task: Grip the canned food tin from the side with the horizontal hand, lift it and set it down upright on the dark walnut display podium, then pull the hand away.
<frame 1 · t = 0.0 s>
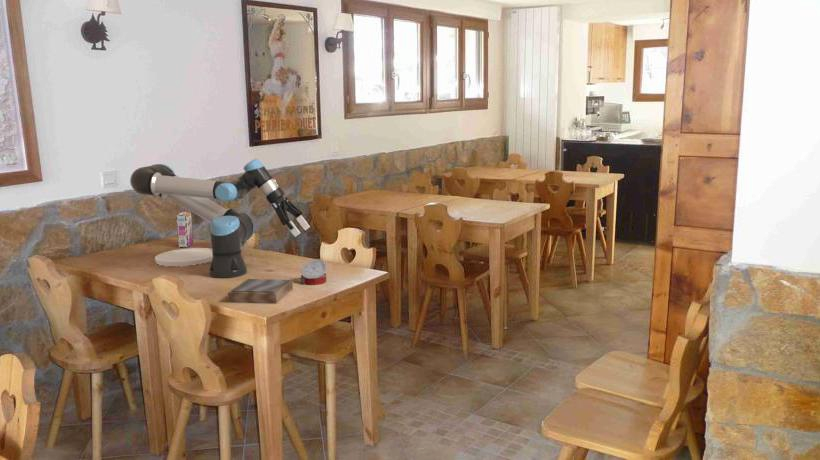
hand: (302, 231, 292), 15 cm above the table, tool tilted 35°, fingers open, 13 cm apart
plate: (187, 260, 314), on the table
candy bar box: (186, 245, 344), on the table
canned food: (314, 282, 270), on the table
display podium: (261, 295, 253), on the table
coffee box: (237, 249, 332), on the table
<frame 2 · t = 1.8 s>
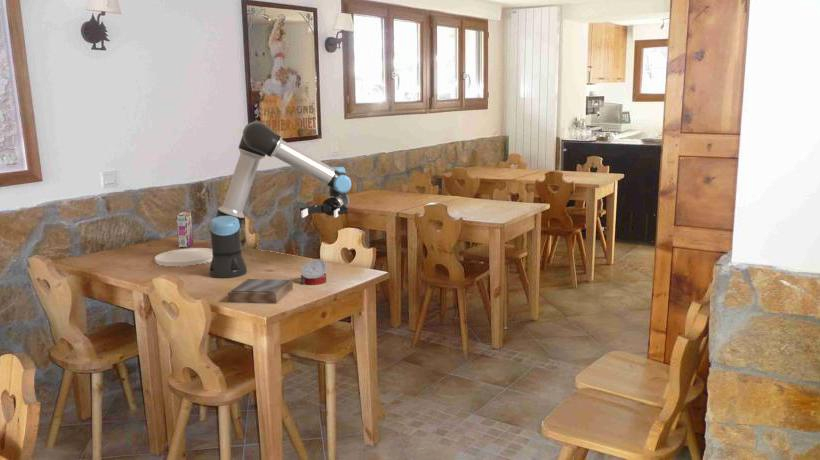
hand: (318, 214, 276), 25 cm above the table, tool horizontal, fingers open, 13 cm apart
nothing on the table moved.
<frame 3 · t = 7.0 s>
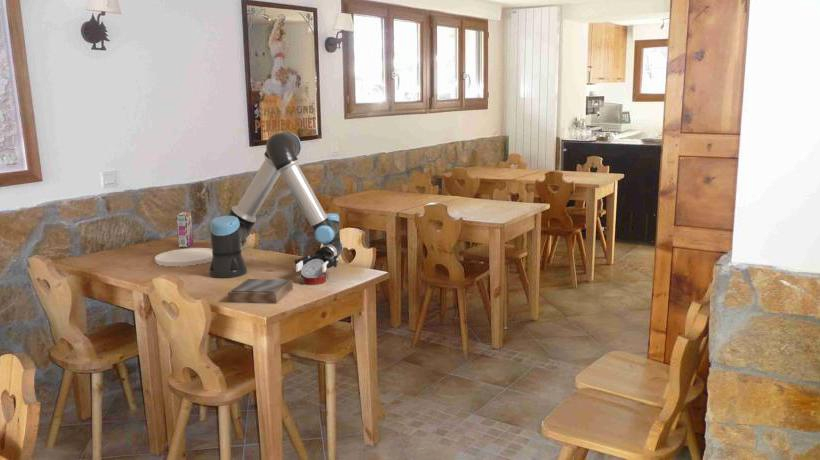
hand: (310, 268, 265), 7 cm above the table, tool horizontal, fingers closed on canned food, 10 cm apart
canned food: (313, 282, 270), on the table, touching gripper
everything else where it was.
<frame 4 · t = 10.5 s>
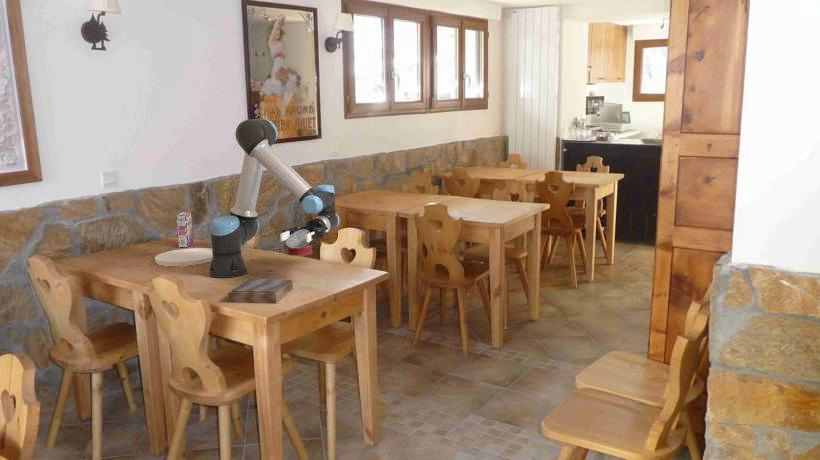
hand: (293, 238, 256), 20 cm above the table, tool horizontal, fingers closed on canned food, 10 cm apart
canned food: (299, 253, 261), point 13 cm above the table, touching gripper
everything else where it was.
when the fingers open (12 cm above the table, at t = 14.2 s): canned food drops 1 cm, resting on display podium.
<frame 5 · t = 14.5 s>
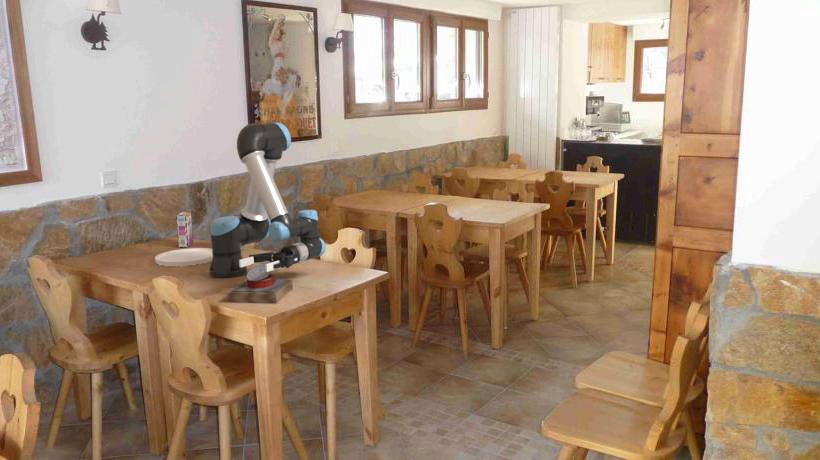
hand: (252, 265, 248), 12 cm above the table, tool horizontal, fingers open, 13 cm apart
canned food: (260, 285, 253), point 4 cm above the table, touching display podium
everything else where it was.
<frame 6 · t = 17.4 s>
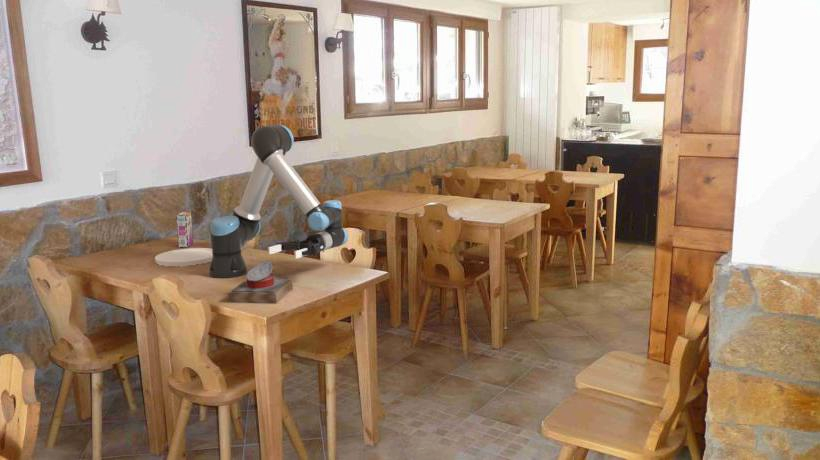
hand: (281, 252, 260), 14 cm above the table, tool horizontal, fingers open, 13 cm apart
nothing on the table moved.
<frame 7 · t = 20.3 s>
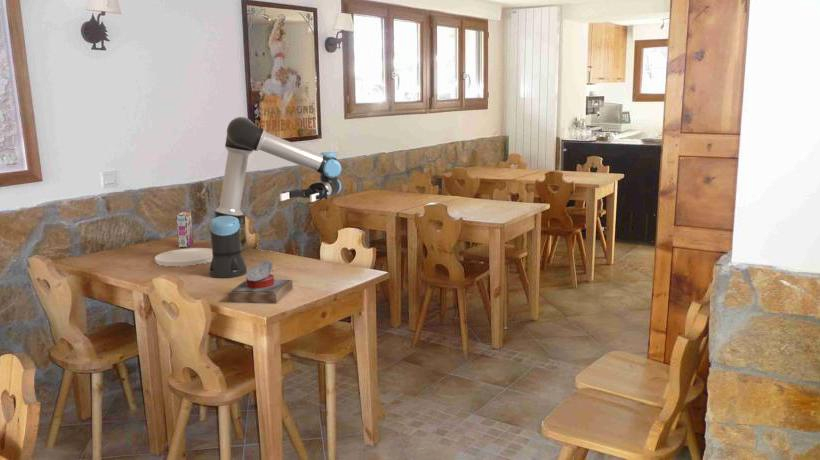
hand: (295, 198, 274), 32 cm above the table, tool horizontal, fingers open, 13 cm apart
nothing on the table moved.
at the end: canned food inside the target area on the display podium (0.1 cm from its centre), point 3.8 cm above the display podium's base; canned food tilted 0°; the gripper is holding nothing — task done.
